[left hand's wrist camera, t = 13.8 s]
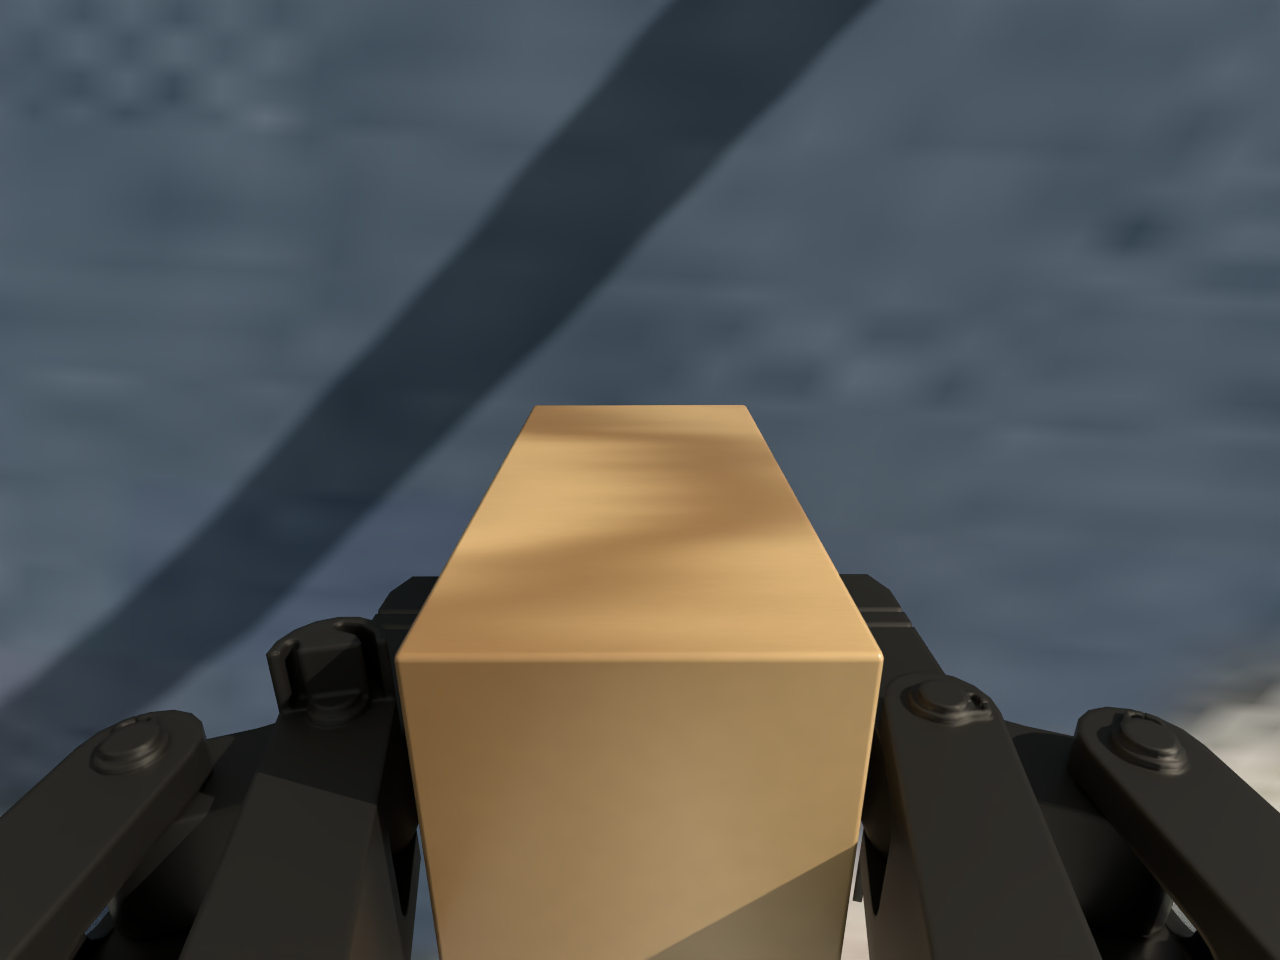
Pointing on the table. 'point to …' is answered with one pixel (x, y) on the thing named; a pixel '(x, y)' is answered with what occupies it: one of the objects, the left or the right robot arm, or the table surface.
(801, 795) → the oak beam
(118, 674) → the table surface
